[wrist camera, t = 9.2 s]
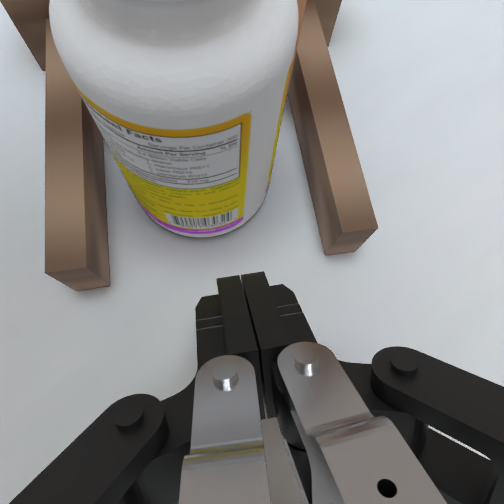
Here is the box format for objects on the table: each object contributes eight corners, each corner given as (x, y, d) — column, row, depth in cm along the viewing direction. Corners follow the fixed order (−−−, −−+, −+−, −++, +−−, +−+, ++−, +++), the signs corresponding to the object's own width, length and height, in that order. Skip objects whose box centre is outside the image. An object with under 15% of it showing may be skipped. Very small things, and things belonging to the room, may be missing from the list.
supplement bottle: (201, 102, 21) (159, -297, 8) (295, 177, 19) (403, -157, 7) (105, 182, 19) (-122, -177, 7) (202, 271, 18) (142, 32, 6)
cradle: (385, 247, 19) (611, 54, 8) (40, 295, 17) (-312, 140, 6) (317, 7, 23) (395, -327, 12) (42, 27, 22) (-153, -337, 11)
